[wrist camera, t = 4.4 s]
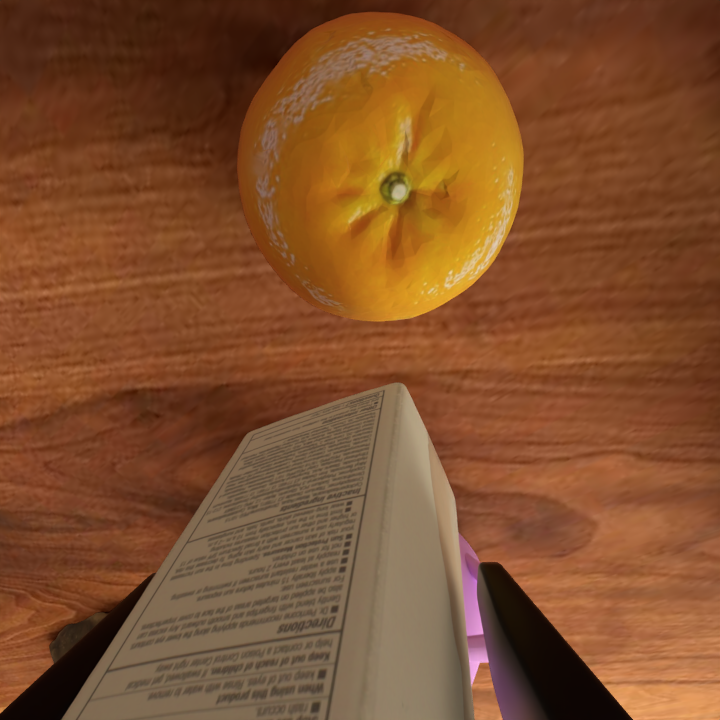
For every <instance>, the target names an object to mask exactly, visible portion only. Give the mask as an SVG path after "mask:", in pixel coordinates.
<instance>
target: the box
mask: <svg viewBox="0 0 720 720" xmlns="http://www.w3.org/2000/svg"><path fill="white" fill-rule="evenodd" d="M61 720H475V719H474V708H473V698H472V687H471V675H470V665H469V654H468V642H467V631H466V619H465V608H464V596H463V584H462V572H461V558H460V547H459V535H458V526H457V513H456V503H455V498H454V494H453V492H452V490H451V487H450V485H449V482H448V479H447V477H446V475H445V472H444V470H443V467H442V465H441V462H440V460H439V458H438V455H437V453H436V451H435V448H434V446H433V444H432V442H431V439H430V437H429V435H428V433H427V430H426V428H425V426H424V424H423V422H422V419H421V417H420V415H419V413H418V411H417V409H416V407H415V405H414V402H413V400H412V398H411V396H410V394H409V392H408V390H407V388H406V387H405V385H404V384H402V383H392V384H388V385H385V386H382V387H379V388H375V389H372V390H368V391H365V392H362V393H359V394H356V395H352V396H349V397H346V398H343V399H340V400H337V401H334V402H331V403H328V404H326V405H323V406H320V407H317V408H315V409H312V410H309V411H306V412H303V413H300V414H297V415H294V416H291V417H288V418H285V419H282V420H280V421H277V422H275V423H272V424H270V425H267V426H264V427H262V428H259V429H256V430H254V431H251V432H249V433H247V435H246V436H245V437H244V439H243V440H242V442H241V443H240V445H239V447H238V448H237V450H236V451H235V453H234V455H233V456H232V458H231V459H230V461H229V462H228V464H227V465H226V467H225V468H224V470H223V471H222V473H221V475H220V476H219V478H218V479H217V481H216V482H215V484H214V485H213V487H212V488H211V490H210V491H209V493H208V495H207V496H206V498H205V499H204V500H203V502H202V504H201V505H200V507H199V508H198V510H197V511H196V513H195V514H194V516H193V518H192V519H191V521H190V522H189V524H188V525H187V527H186V528H185V530H184V531H183V533H182V534H181V536H180V537H179V539H178V540H177V542H176V543H175V545H174V547H173V548H172V550H171V551H170V553H169V554H168V556H167V557H166V559H165V560H164V562H163V564H162V565H161V567H160V568H159V570H158V571H157V573H156V574H155V576H154V577H153V579H152V580H151V582H150V583H149V585H148V586H147V588H146V590H145V591H144V593H143V594H142V596H141V598H140V599H139V601H138V602H137V604H136V605H135V607H134V608H133V610H132V612H131V613H130V615H129V616H128V618H127V619H126V621H125V622H124V624H123V625H122V627H121V628H120V630H119V632H118V633H117V635H116V636H115V638H114V639H113V641H112V642H111V644H110V646H109V647H108V649H107V650H106V652H105V653H104V655H103V656H102V658H101V659H100V661H99V662H98V664H97V665H96V667H95V668H94V670H93V671H92V673H91V674H90V676H89V677H88V679H87V680H86V682H85V684H84V685H83V687H82V688H81V690H80V692H79V693H78V695H77V697H76V698H75V700H74V701H73V703H72V704H71V706H70V707H69V709H68V710H67V712H66V713H65V715H64V716H63V718H62V719H61Z"/></svg>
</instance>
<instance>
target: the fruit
mask: <svg viewBox="0 0 720 720" xmlns="http://www.w3.org/2000/svg"><path fill="white" fill-rule="evenodd" d="M521 139H522V138H521V135H520V132H519V126H518V123H517V120H516V117H515V115H514V112H513V109H512V107H511V104H510V101H509V99H508V97H507V95H506V93H505V91H504V89H503V87H502V85H501V83H500V81H499V80H498V78H497V76H496V74H495V72H494V71H493V69H492V68H491V66H490V65H489V64H488V63H487V62H486V60H485V59H484V58H483V57H482V56H481V55H480V54H479V53H478V52H477V51H476V50H475V49H473V48H472V47H471V46H470V45H469V44H468V43H466V42H465V41H464V40H462V39H461V38H459V37H458V36H456V35H455V34H453V33H451V32H449V31H447V30H445V29H444V28H442V27H440V26H439V25H437V24H435V23H433V22H429V21H427V20H424V19H422V18H418V17H414V16H409V15H404V14H400V13H383V12H363V13H352V14H348V15H344V16H341V17H339V18H336V19H334V20H331V21H328V22H326V23H324V24H322V25H320V26H317V27H315V28H313V29H311V30H310V31H309V32H308V33H307V34H306V35H304V36H303V37H302V38H300V39H299V40H298V41H296V43H295V44H294V45H293V46H292V47H291V48H290V49H289V50H288V51H287V52H286V53H285V54H284V56H283V57H282V58H281V60H280V61H279V62H278V64H277V65H276V66H275V68H274V69H273V70H272V72H271V73H270V74H269V76H268V77H267V78H266V79H265V81H264V83H263V84H262V86H261V87H260V89H259V90H258V92H257V93H256V94H255V96H254V98H253V100H252V102H251V104H250V106H249V108H248V110H247V113H246V116H245V119H244V122H243V125H242V128H241V134H240V141H239V146H238V161H237V174H238V182H239V191H240V198H241V202H242V206H243V211H244V216H245V218H246V221H247V224H248V226H249V229H250V231H251V234H252V236H253V238H254V239H255V242H256V244H257V246H258V247H259V249H260V251H261V252H262V254H263V255H264V257H265V258H266V260H267V261H268V263H269V264H270V266H271V267H272V268H273V269H274V271H275V272H276V273H277V274H278V276H279V277H280V278H281V279H282V280H283V281H284V282H285V283H286V284H287V285H288V286H289V288H290V289H291V290H293V291H294V292H295V293H296V294H297V295H299V296H300V297H301V298H303V299H304V300H305V301H307V302H308V303H310V304H312V305H313V306H315V307H317V308H319V309H321V310H323V311H326V312H328V313H330V314H335V315H338V316H342V317H346V318H350V319H355V320H362V321H390V320H400V319H408V318H412V317H415V316H418V315H421V314H424V313H426V312H429V311H431V310H433V309H435V308H437V307H439V306H441V305H442V304H444V303H446V302H447V301H449V300H451V299H452V298H454V297H455V296H457V295H458V294H460V293H461V292H463V291H464V290H466V289H467V288H468V287H470V286H471V285H472V284H473V283H474V282H475V281H476V280H477V279H478V278H479V277H480V276H481V275H482V274H483V273H484V272H485V271H486V270H487V269H488V268H489V267H490V265H491V264H492V263H493V261H494V260H495V258H496V256H497V255H498V253H499V251H500V249H501V247H502V245H503V243H504V241H505V239H506V237H507V235H508V233H509V231H510V229H511V226H512V224H513V221H514V218H515V215H516V212H517V209H518V204H519V199H520V193H521V187H522V178H523V165H524V152H523V146H522V140H521Z"/></svg>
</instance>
